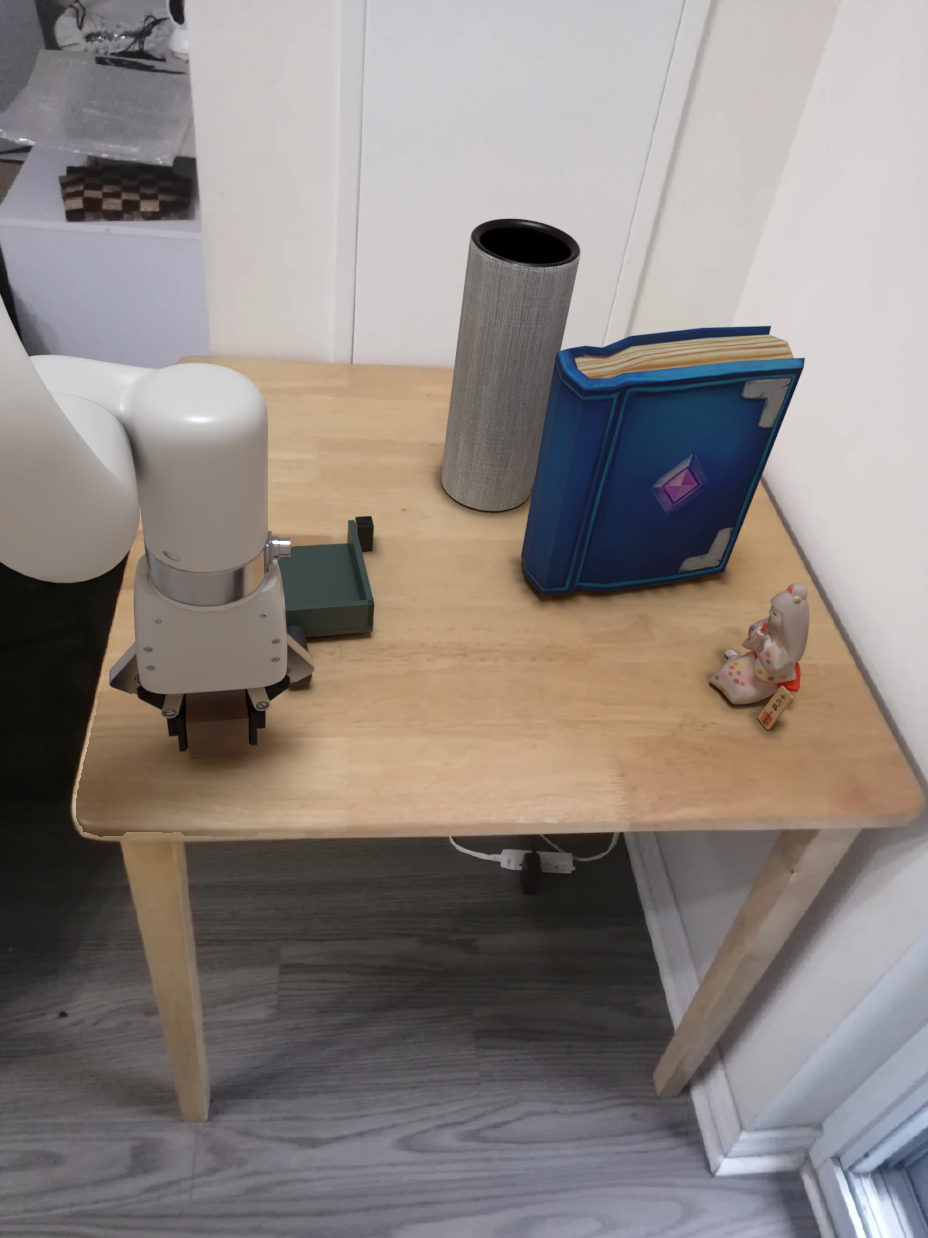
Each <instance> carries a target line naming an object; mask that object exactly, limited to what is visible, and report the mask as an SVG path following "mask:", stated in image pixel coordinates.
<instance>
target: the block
mask: <svg viewBox="0 0 928 1238" xmlns="http://www.w3.org/2000/svg"><path fill="white" fill-rule="evenodd" d="M185 710H186V730H187V741H188V749H187V750H188V751H187V752H188V760H189V761H200V760H210V759H220V758H221V759H222V758H233V757H245V756H249V755H250V744H249V728H248V710H247V699H246V689H236V690H223V691H210V692H196V693H185Z"/></svg>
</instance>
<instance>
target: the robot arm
mask: <svg viewBox="0 0 928 1238" xmlns="http://www.w3.org/2000/svg"><path fill="white" fill-rule="evenodd" d="M140 521H141V525H142V535H143V543H144V544H143V545H144V553H143V555H142V556H141V557H140V558H139V559H138V561H137V563H136V568H135V575H134V582H133V622H134V623H133V624H134V627H133V628H134V642H133V644H132V645H131V646H130V647H129V648H128V649H127V650H126V651H125V652H124V653H123V654H122V655H121V657H120V658H119V659H118V660H117V661H116V662H115V663H114V664H113V665H112V666H111V668H110V669H109V678H108V679H109V680H108V681H109V682H108V684H109V686H110V688H112V689H115V690H118V691H121V692H124V693H127V694H129V695H133V694H134V695H136V697H137V698H138V699H139V700H140V701H142V702H145V703H146V704H148V705H150V706H152V707H154V708H156V709H159V710H160V713H161V717H163V718H165V719H166V724H167V733H168V737H177V741H178V749H179V750H178V751H179V753H180V752H181V753H183V752H188V751H187V750H188V741H187V730H186V710H185V693H196V692H210V691H223V690H236V689H246V699H247V710H248V728H249V746H258V730H263V729H266V728H267V710H268V709H269V708H271V702H272V701H273V700H274V699H276V698H277V697H279V696H280V695H281V694H282V693H284V692H286V691H287V690H288V689H289V688H290V687H291V683H292V682H297V681H299V680H301V679H303V678H304V677H306V676H308V675H310V674H312V675H313V673H315V663H314V657H313V655H312V654H311V653H310V652H309V651H308V652H307V651H306V650H305V649H304V648H303V647H302V646H301V645H300V644H299V643H297V642H296V641H295V640H294V639H293V638H292V637H291V636H290V635H289V634H288V633H287V629H286V614H285V600H284V592H283V584H282V578H281V573H280V569H279V565H278V562H277V560H279V558H281V557H291V547H292V546H291V538H290V536H279V535H278V534H273V532H272V530H269V415H268V406H267V403H266V399H265V397H264V395H263V394H262V392H261V390H260V389H259V387H258V386H257V385H256V384H255V382H253V381H252V380H251V379H250V378H248V377H247V376H246V375H244V374H243V373H240V372H239V371H237V370H234V369H232V368H230V367H226V366H223V365H219V364H214V363H209V362H208V363H207V362H183V363H178V364H172V365H169V366H165V367H162V368H153V367H144V366H136V365H131V364H130V365H129V364H123V363H117V362H110V361H109V362H108V361H103V360H97V359H91V358H85V357H77V356H72V355H71V356H70V355H63V354H62V355H59V354H38V355H31V356H29V355H28V353H27V351H26V348H25V347H24V345H23V343H22V341H21V339H20V337H19V334H18V332H17V330H16V328H15V326H14V323H13V322H12V320H11V317H10V316H9V313H8V311H7V308H6V306H5V303H4V300H3V297H2V295H1V294H0V563H2V564H3V565H5V567H7V568H9V569H10V570H14V571H16V572H18V573H20V574H21V575H24V576H26V577H29V578H33V579H36V580H39V581H41V582H43V581H44V582H49V583H56V584H74V583H79V582H86V581H89V580H91V579H95V578H98V577H100V576H102V575H104V574H106V573H108V572H109V571H111V570H113V569H114V568H115V567H116V566H117V565H119V564H120V563H121V562H122V561H123V560H124V558H125V557H126V556H127V554H128V553H129V551H130V550H131V549H132V548H133V545H134V543H135V541H136V538H137V536H138V533H139V527H140Z"/></svg>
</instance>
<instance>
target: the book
mask: <svg viewBox="0 0 928 1238" xmlns="http://www.w3.org/2000/svg"><path fill="white" fill-rule="evenodd" d="M771 329H772V325H753V326H752V325H751V326H750V325H749V326H717V327H715V326H714V327H713V326H712V327H698V328H687V329H680V330H670V331H661V332H654V333H645V334H635V335H630V336H627V337H624V338H622V339H620V340H617V341H615V342H614V341H613V342H612V343H610V344H607V345H604V346H602V347H601V346H594V345H593V346H592V345H581V346H575V347H574V346H573V347H569V348H566V349H561V351H559V352H556V358H555V364H554V369H553V375H552V381H551V387H550V392H549V398H548V404H547V410H546V415H545V421H544V427H543V433H542V438H541V444H540V450H539V456H538V461H537V465H536V470H535V475H534V480H533V484H532V489H531V496H530V503H529V508H528V514H527V518H526V524H525V531H524V536H523V542H522V547H521V554H520V558H521V563H522V567H523V573H524V577H525V578H526V579H527V580H528V582H530V584H531V585H532V586H533V587H534V588H535V589H536V590H537V592H538V593H539V594H540V595H541V596H557V595H560V596H561V595H568V594H570V593H572V592H575V591H577V590H585V591H592V592H599V593H600V592H601V593H608V592H609V593H610V592H617V591H624V590H630V589H638V588H646V587H652V586H659V585H665V584H671V583H676V582H682V581H686V580H692V579H697V578H702V577H708V576H713V575H718V574H723V573H725V571H726V568H727V566H728V564H729V561H730V559H731V556H732V553H733V551H734V548H735V545H736V543H737V541H738V538H739V536H740V533H741V530H742V527H743V525H744V522H745V520H746V517H747V515H748V512H749V509H750V507H751V504H752V502H753V499H754V497H755V494H756V491H757V489H758V486H759V483H760V481H761V479H762V476H763V474H764V471H765V468H766V466H767V463H768V461H769V459H770V455H771V453H772V451H773V447H774V446H775V442H776V440H777V437H778V435H779V432H780V430H781V427H782V425H783V423H784V419H785V417H786V415H787V412H788V409H789V407H790V404H791V402H792V399H793V398H794V394H795V392H796V389H797V386H798V384H799V381H800V379H801V378H800V377H801V376H802V373H803V371H804V369H805V363H806V357H794V355H793V351H792V349H791V346H790V344H789V341H787V340H785V339H782V338H780V337H777V336H774V335H771Z"/></svg>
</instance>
